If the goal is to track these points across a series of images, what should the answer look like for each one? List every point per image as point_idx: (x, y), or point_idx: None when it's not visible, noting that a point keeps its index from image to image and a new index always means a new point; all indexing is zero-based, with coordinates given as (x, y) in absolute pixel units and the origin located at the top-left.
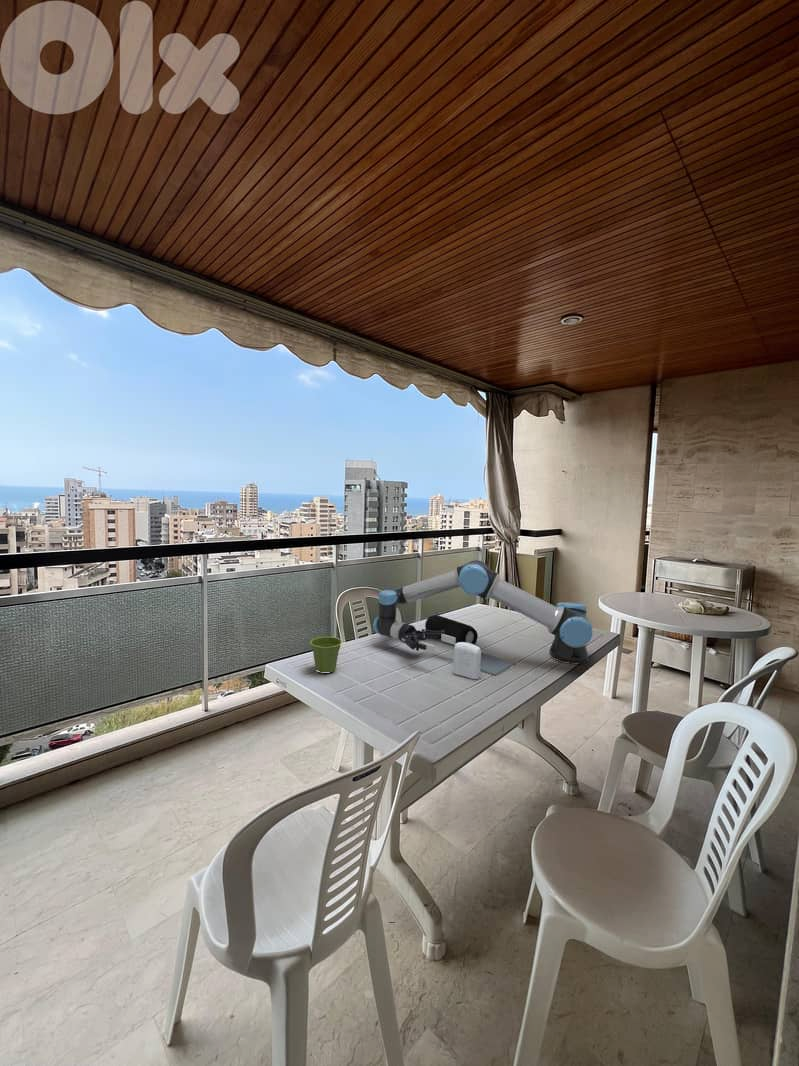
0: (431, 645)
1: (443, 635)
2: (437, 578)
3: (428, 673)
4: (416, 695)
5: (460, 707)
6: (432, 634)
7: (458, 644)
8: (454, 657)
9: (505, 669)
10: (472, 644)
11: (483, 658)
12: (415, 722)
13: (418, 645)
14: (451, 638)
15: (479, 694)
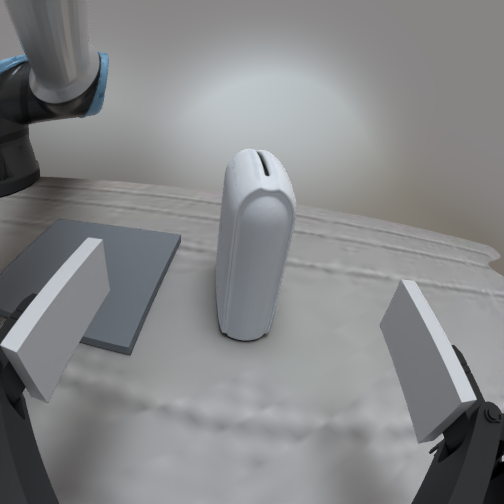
0: (420, 295)
1: (34, 334)
2: None
3: (359, 419)
4: (479, 335)
5: (409, 256)
6: (26, 480)
7: (287, 180)
8: (285, 263)
9: (117, 228)
10: (252, 149)
11: (39, 282)
12: (500, 285)
13: (477, 407)
14: (89, 268)
15: (327, 245)
